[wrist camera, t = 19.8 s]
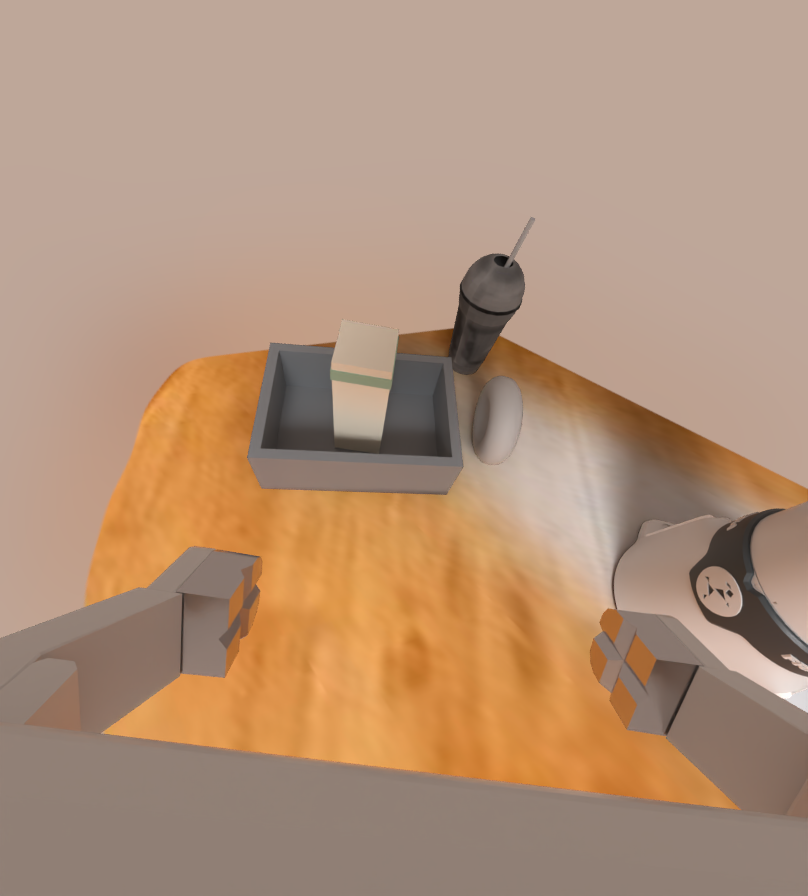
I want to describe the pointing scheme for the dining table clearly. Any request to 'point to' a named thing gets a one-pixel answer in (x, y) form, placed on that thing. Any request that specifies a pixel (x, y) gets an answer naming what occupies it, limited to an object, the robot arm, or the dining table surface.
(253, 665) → the dining table surface
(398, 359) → the box
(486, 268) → the beverage cup
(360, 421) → the juice carton
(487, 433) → the donut
